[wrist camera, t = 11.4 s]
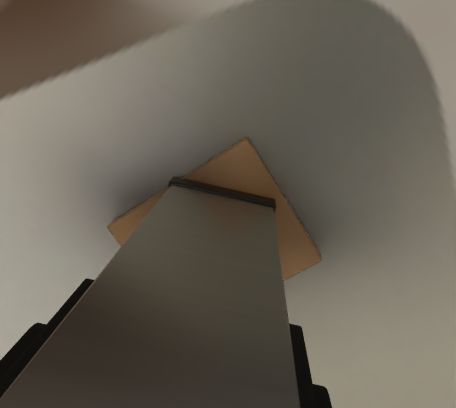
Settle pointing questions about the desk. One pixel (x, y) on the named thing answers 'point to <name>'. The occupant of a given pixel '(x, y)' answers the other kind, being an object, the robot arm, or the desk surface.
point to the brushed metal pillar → (176, 315)
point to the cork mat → (245, 182)
